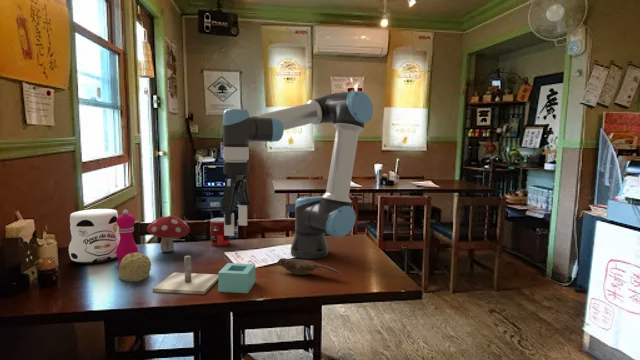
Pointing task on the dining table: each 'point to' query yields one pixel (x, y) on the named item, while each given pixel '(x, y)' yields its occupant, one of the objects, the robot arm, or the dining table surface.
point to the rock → (134, 267)
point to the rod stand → (187, 281)
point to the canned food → (218, 232)
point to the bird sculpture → (303, 266)
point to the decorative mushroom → (168, 230)
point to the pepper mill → (125, 236)
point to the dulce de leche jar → (93, 236)
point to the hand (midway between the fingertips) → (236, 230)
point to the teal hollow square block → (236, 278)
